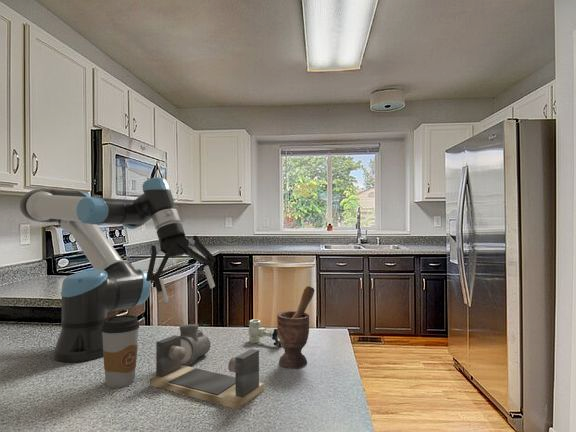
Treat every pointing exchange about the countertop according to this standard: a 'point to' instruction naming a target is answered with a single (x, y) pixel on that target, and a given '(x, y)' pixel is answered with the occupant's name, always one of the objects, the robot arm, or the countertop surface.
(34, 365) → the countertop surface
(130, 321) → the coffee cup
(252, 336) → the valve
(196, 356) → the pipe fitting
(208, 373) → the shaft bed
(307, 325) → the mortar and pestle
